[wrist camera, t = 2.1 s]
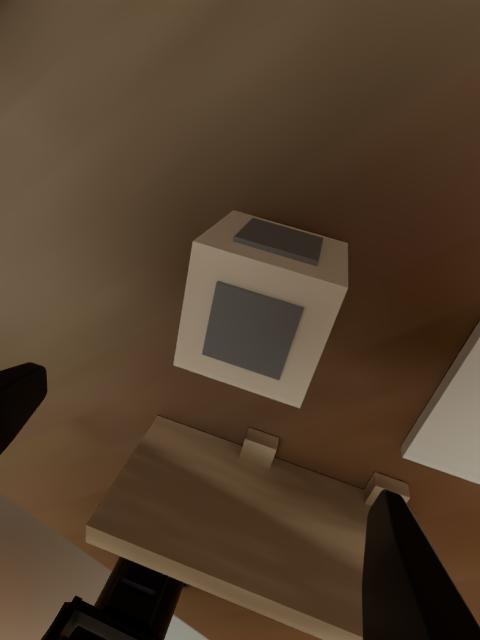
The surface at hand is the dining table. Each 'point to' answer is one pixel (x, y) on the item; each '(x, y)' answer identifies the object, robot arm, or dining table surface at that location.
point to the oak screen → (243, 526)
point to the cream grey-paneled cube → (260, 305)
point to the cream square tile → (452, 419)
